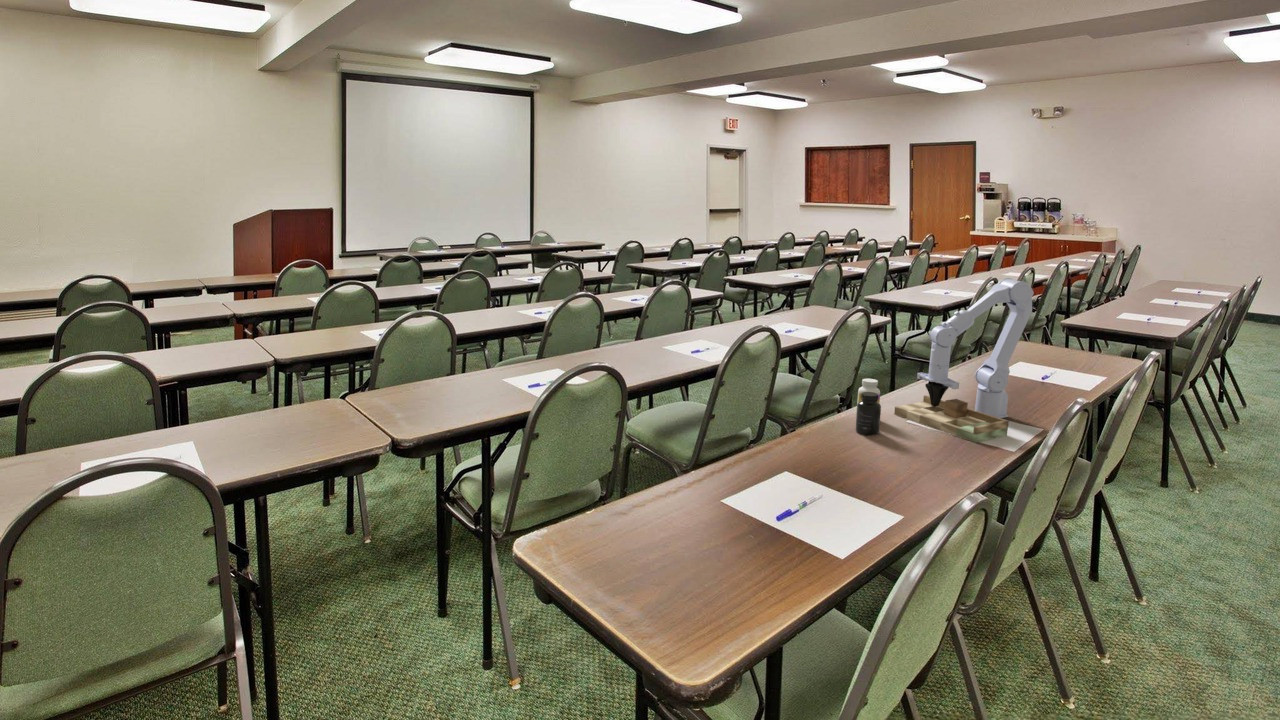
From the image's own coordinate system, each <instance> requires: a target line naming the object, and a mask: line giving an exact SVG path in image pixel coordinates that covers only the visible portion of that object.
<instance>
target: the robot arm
mask: <svg viewBox="0 0 1280 720" xmlns="http://www.w3.org/2000/svg"><path fill="white" fill-rule="evenodd" d="M1034 293H1035V292H1034V290H1033V288H1032V287H1031V284H1030V283H1028V282H1026V281H1023V280H1021V281H1020V280H1016V279H1013V278H1009V277H1006V278H1002V279H1001V280H999V282H998V283H995V284H994V285H993V286H992V287H991V288H990V290H989V291H988V292H986V293H985V294H984V295H983V296H982V297H981V298H979V299H978V300H977V301H976V302H975V303H973V305H971V306H970V307H969V308H968V309H967V310H966V309H960V310H959V311H958V310H956V311H955V312H954V313H953V315H952V316H951V317H950V318H949V319H947V320H946V321H943V322H941V325H937V326H934V327H933V328H932V329H931V332H930V333H929V334H928V339H929V340H930V341H931V349H930V356H929V366H928V373H926V372H917V377H916V379H917V380H922V381H926V383H925V388H926V390H927V393H928V396H929V397H930V401H931V405H932V406H939V403H940V401H941V400H942V398H943V396H944V394H946V391H948V389H949V388H951V389H953V390H959V389H960V388H959V387H960V382H959V381H955V380H953V379H951V378H949V370H950V360H951V349H952V346H953V345H954V344H955V343H956V339H957V338H958V336H960V335H962V333H964V332H965V331H966V330H968V329H969V328H970V327H972V326H973V325H974V324H975V319H976V318H977V317H979V316H981V315H982V314H983V313H985V312H986V311H987V310H989V309H991V308H993V306H995V305H997V304H1001V303H1002V304H1003V303H1006V304H1007V306H1008V308H1009V311H1010V312H1009V315H1008V318H1007V320H1006V322H1005V324H1004V326H1003V328H1002V330H1001V332H1000V334H999V337H998V338H997V341H996V344H995V345H994V348H993V350H992V352H991V354H990V356H989V358H986V359H985V360H983V363H982V365H981V366H980V367H978V369H976V371H975V373H974V379H975V381H976V383H977V390H976V396H975V397H976V398H975V403H974V404H975V406H974V410H975V411H978V412H982V413H985V414H988V415H991V416H995V417H998V418H1001V419H1004V418H1008V417H1009V414H1007V411H1008V404H1009V403H1008V402H1009V395H1008V391H1006V390H1005V389H1006V388H1007V386H1008V383H1009V375H1010V372H1011V371H1010V367H1009V362H1010V360H1011V358H1012V355H1013V354H1014V352H1015V350H1016V347H1017V345H1018V343H1019V341H1020V338H1021V336H1022V335H1023V333H1024V330H1025V327H1026V326H1027V323H1028V322H1029V319H1030V317H1031V315H1032V312H1033V296H1034Z"/></svg>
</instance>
